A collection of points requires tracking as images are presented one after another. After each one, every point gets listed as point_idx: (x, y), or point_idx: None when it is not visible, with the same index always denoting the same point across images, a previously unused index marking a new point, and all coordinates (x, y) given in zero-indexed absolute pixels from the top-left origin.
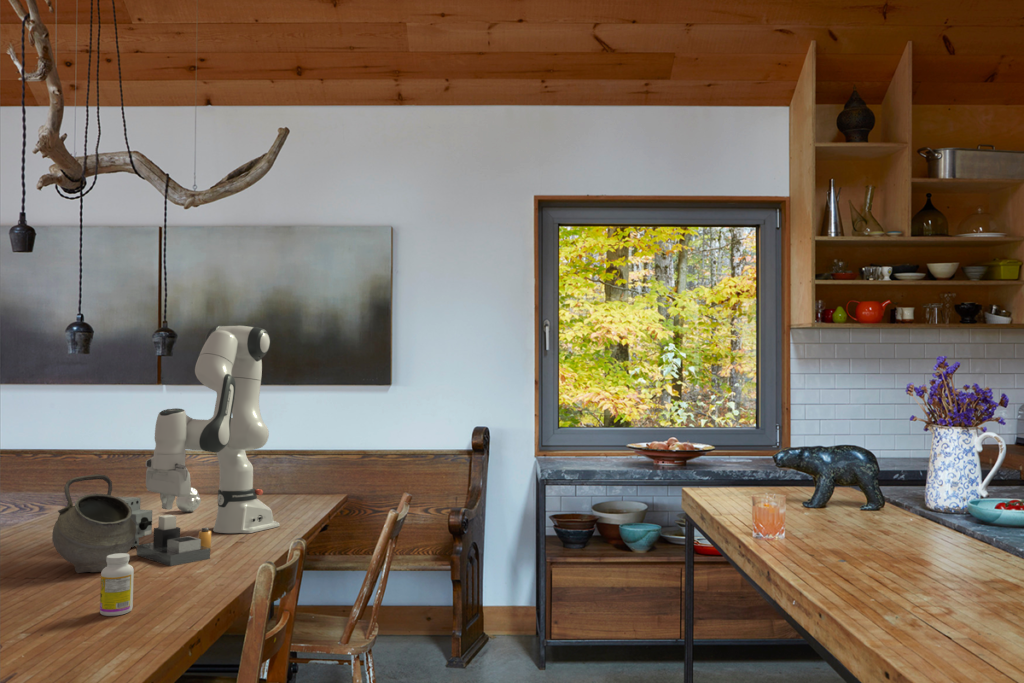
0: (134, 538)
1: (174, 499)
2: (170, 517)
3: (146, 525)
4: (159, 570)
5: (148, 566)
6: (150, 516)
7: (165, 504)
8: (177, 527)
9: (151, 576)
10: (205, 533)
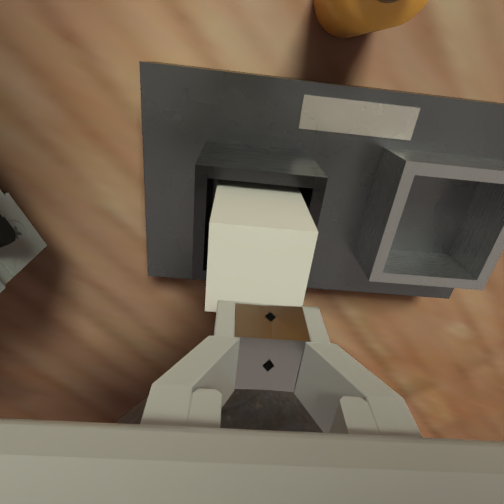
0: (296, 399)
1: (379, 379)
2: (307, 275)
3: (2, 220)
4: (434, 320)
5: (356, 313)
6: None
7: (287, 384)
8: (300, 183)
9: (465, 364)
10: (424, 3)
